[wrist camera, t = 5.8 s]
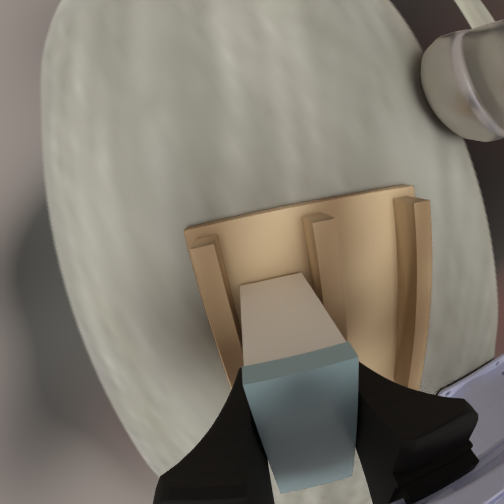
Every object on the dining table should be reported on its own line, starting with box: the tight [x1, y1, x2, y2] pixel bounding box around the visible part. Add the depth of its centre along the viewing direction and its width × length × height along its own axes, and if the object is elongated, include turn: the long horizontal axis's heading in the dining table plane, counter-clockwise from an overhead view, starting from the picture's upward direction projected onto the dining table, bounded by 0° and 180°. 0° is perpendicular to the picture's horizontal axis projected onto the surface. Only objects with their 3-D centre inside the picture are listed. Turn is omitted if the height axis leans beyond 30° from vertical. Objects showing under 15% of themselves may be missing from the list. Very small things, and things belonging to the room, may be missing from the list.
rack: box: [184, 185, 432, 391], centre depth 14 cm, size 12×13×3 cm
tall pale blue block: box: [240, 273, 359, 493], centre depth 11 cm, size 3×7×7 cm, turn 12°
